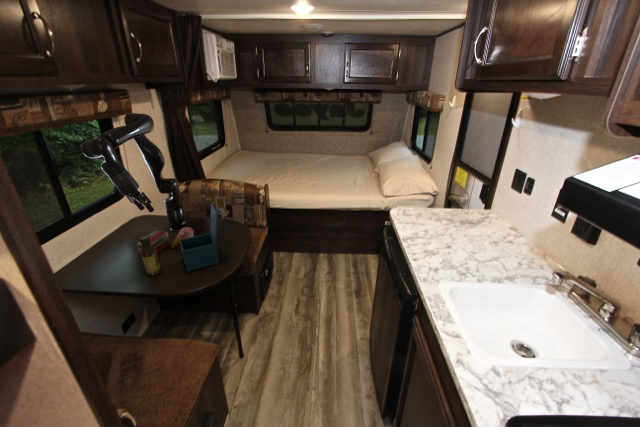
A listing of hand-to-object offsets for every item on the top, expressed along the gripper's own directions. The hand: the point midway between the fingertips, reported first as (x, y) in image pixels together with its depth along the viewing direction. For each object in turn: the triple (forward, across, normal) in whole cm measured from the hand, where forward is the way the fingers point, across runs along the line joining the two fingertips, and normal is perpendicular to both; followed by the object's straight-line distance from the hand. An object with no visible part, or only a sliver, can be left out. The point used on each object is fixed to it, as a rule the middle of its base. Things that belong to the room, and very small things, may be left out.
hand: (147, 210), depth 136 cm
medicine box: (+30, +22, +2) cm, 37 cm away
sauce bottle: (+28, +3, +15) cm, 32 cm away
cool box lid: (+20, -15, -16) cm, 30 cm away
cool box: (+36, -8, -2) cm, 37 cm away
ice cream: (+35, +13, -9) cm, 38 cm away
